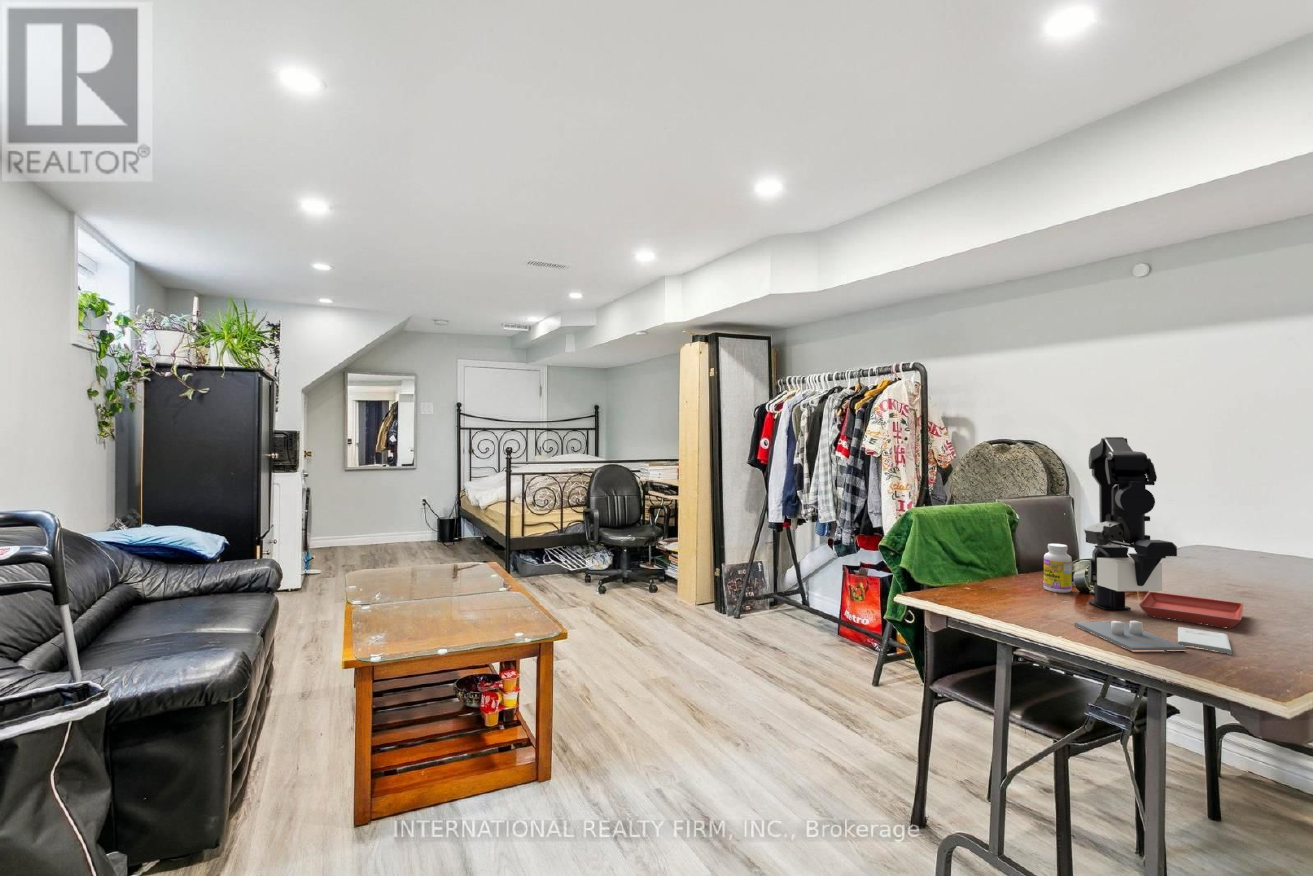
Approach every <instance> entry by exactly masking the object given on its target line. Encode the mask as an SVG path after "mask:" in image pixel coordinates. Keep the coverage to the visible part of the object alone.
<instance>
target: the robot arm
mask: <svg viewBox="0 0 1313 876" xmlns="http://www.w3.org/2000/svg"><path fill="white" fill-rule="evenodd" d="M1088 469H1089V470H1091V476H1092V477H1093V479H1094V480H1095V482H1096V483H1097V484H1098V489H1099V493H1098V494H1099V495H1098V497H1099V499H1098V500H1099V502H1098V503H1099V523H1096V524H1093V525H1091V526H1087V527H1085V528H1083V531H1084V534H1085V543H1088V544H1092V545H1094V549H1093V550H1092V556H1091V557H1092V558H1089V560H1088V562H1089V563H1088V567H1087V568H1088V569H1087V577H1088V578H1087V580H1088V581H1089V583H1091V584H1093V589H1094V590H1093V591H1094V593H1093V594H1094V595H1093V598H1094V600H1092V601H1091V600H1088V604H1090V605H1092V606H1094V607H1098V608H1100V609H1102V610H1107V611H1113V610H1114V611H1117V610H1118V611H1120V610H1124V611H1128V610H1131V608H1132V607H1130V606H1127V605H1126V591H1115V590H1112V589H1109V588H1106V587H1102V586H1099V585H1097V558H1132V559H1133V560H1134V562H1135V572H1136V581H1137V585H1138V586H1144V584H1145V583H1146V581H1147V579H1148V578H1149V576H1150V575H1151V573H1152V571H1153V570H1154V569H1155V567H1156V566H1157V565H1158V563H1159V562H1160V563H1161V561H1162V560H1163V559H1166V557H1178V546H1177V545H1176V544H1175V543H1173V541H1168V540H1167V541H1166V540H1161V539H1151V535H1149V534H1146V522H1151V516H1150V515H1146V514H1148V513H1149V512H1152V510H1154V507H1155V504H1156V499H1155V496H1154V494H1153V493H1152V492H1151V491H1150V490H1148V489H1147V488H1146V486H1155V485H1156V484H1155V483H1156V482H1157V481H1158V480H1157V478H1158V477H1157V474H1156V473H1157V472H1156V468H1155V465H1154V463H1153V462H1152V459H1151V457H1150V458H1149V457H1148V455H1147V454H1146V453H1145V452H1143V451H1134V450H1133V449H1132V447H1131V446H1130V445H1129V442H1128V439H1127V437H1125V438H1124V437H1123V436H1118V437H1117V436H1104V437H1102V438H1101V439H1100V442H1099V443H1098V444H1096V445H1094V446H1093V447H1091V448H1090V450H1089V454H1088ZM1130 548H1131V549H1132V548H1133V549H1134V551H1135V553H1132V552H1131V553H1130V552H1129V549H1130ZM1128 552H1129V553H1128Z"/></svg>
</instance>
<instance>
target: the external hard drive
mask: <svg viewBox="0 0 1313 876" xmlns="http://www.w3.org/2000/svg"><path fill="white" fill-rule="evenodd" d="M1177 644H1180V645H1183V646H1194V647H1199V648H1204V649H1208V650H1215V651H1218V652H1222V653H1227V654H1226V655H1228V654H1232V655H1233V653H1232V647H1231V644H1230V639H1229V635H1228V634H1226V633H1222V632H1216V631H1209V630H1203V629H1195V628H1189V627H1182V626H1178V627H1177ZM1222 653H1221V654H1222Z"/></svg>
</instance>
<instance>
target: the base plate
mask: <svg viewBox="0 0 1313 876" xmlns="http://www.w3.org/2000/svg"><path fill="white" fill-rule="evenodd" d="M1075 626H1077V627H1080V628H1082V629H1084V630H1086V631H1088V632H1092V633H1094V634H1095V635H1097V636H1101V637H1103V638H1105V639H1107V640H1108V641H1112V642H1113V643H1115V644H1117V645H1119V646H1123V647H1125V648H1127V649H1129V650H1164V651H1167V650H1186V651H1187V648H1186V647H1185V646H1182V645H1180V644H1178V642H1177V643H1176V642H1174V641H1173V640H1169V639H1167V638H1164V637H1161V636H1160V635H1157V634H1154V633H1152V632H1149V631H1146V630H1144V628H1143V627H1144V626H1143V622H1142V621H1138V620H1129V623H1126V622H1124V621H1119V620H1111V621H1075V622H1074V627H1075ZM1077 627H1076V628H1077ZM1086 631H1085V632H1086ZM1088 632H1087V633H1088ZM1097 636H1096V637H1097ZM1108 641H1107V642H1108ZM1119 646H1118V647H1119Z"/></svg>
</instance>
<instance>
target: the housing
mask: <svg viewBox="0 0 1313 876" xmlns="http://www.w3.org/2000/svg"><path fill="white" fill-rule="evenodd" d="M1097 585H1099V586H1102V587H1106V588H1109V589H1112V590H1115V591H1124V592H1162V591H1163V562H1161V561H1160V562H1159V563H1158V565H1157V566H1156V567H1155V569H1154V570H1153V571H1152V573H1151V575H1150V576H1149V578H1148V579H1147V581H1146V583H1145V584H1144V586H1138V585H1137V581H1136V572H1135V562H1134V560H1133V559H1132V558H1131V557H1129V558H1097Z"/></svg>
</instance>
